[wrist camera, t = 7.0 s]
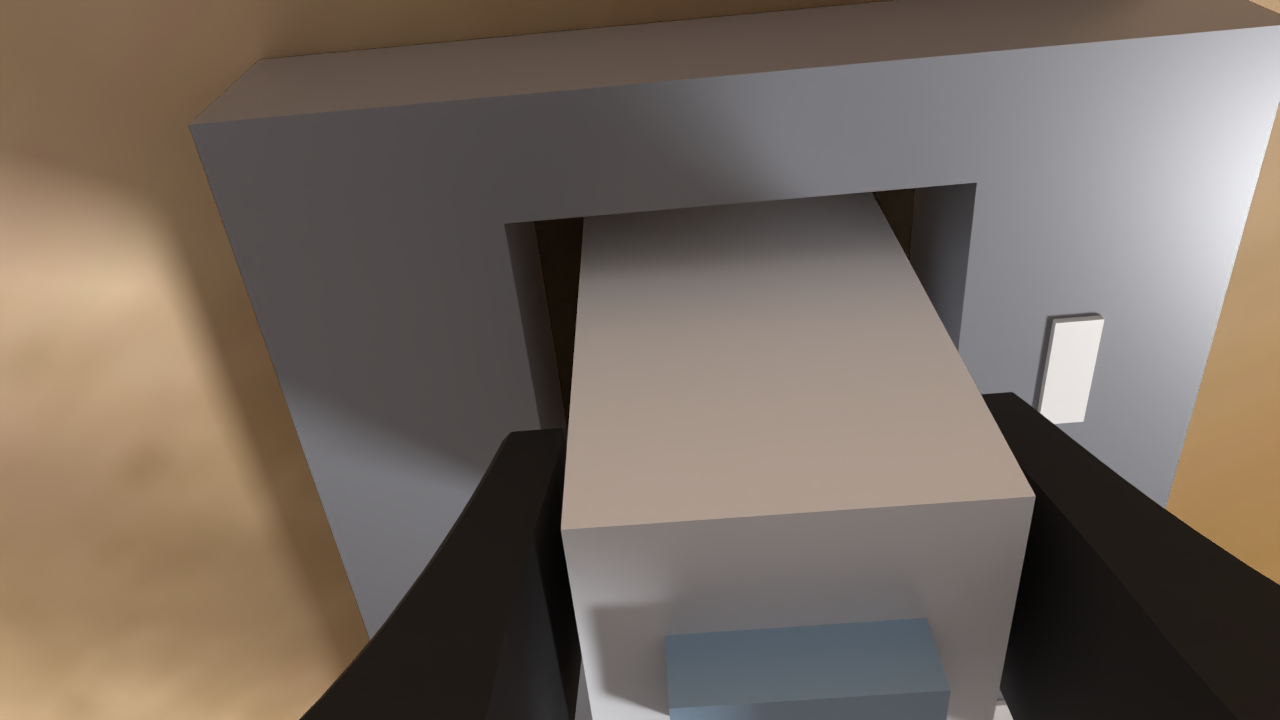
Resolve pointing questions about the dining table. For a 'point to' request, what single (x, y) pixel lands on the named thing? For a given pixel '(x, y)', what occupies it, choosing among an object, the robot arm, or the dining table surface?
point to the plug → (781, 475)
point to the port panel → (728, 174)
